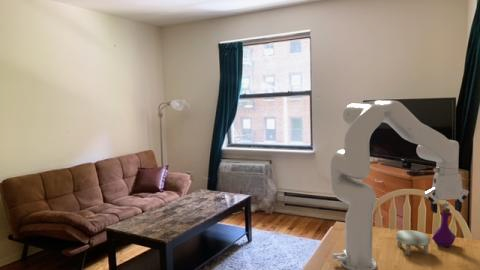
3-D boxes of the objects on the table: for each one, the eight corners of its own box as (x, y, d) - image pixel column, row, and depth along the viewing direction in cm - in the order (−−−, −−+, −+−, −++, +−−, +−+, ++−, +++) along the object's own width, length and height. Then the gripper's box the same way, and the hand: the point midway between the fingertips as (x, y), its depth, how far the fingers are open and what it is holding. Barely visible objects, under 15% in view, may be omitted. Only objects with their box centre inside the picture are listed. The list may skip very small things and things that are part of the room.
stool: (404, 257, 132) (404, 243, 132) (390, 244, 144) (391, 230, 143) (435, 256, 132) (436, 242, 131) (419, 243, 144) (419, 229, 143)
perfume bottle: (435, 239, 147) (436, 198, 145) (455, 243, 143) (457, 201, 140) (431, 245, 142) (433, 203, 139) (452, 250, 137) (454, 206, 135)
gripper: (430, 174, 135) (429, 215, 137) (474, 171, 134) (473, 213, 137) (420, 169, 142) (420, 209, 144) (462, 167, 142) (461, 207, 144)
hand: (446, 211), depth 140 cm, fingers open, 9 cm apart
